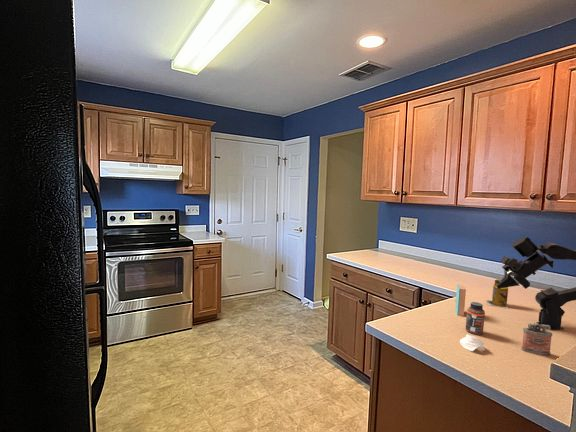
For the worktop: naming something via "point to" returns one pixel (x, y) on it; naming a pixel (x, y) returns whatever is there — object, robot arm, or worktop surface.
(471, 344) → the whipped cream
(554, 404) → the worktop surface
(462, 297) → the tile
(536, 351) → the lighter
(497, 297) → the condiment
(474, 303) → the supplement bottle
